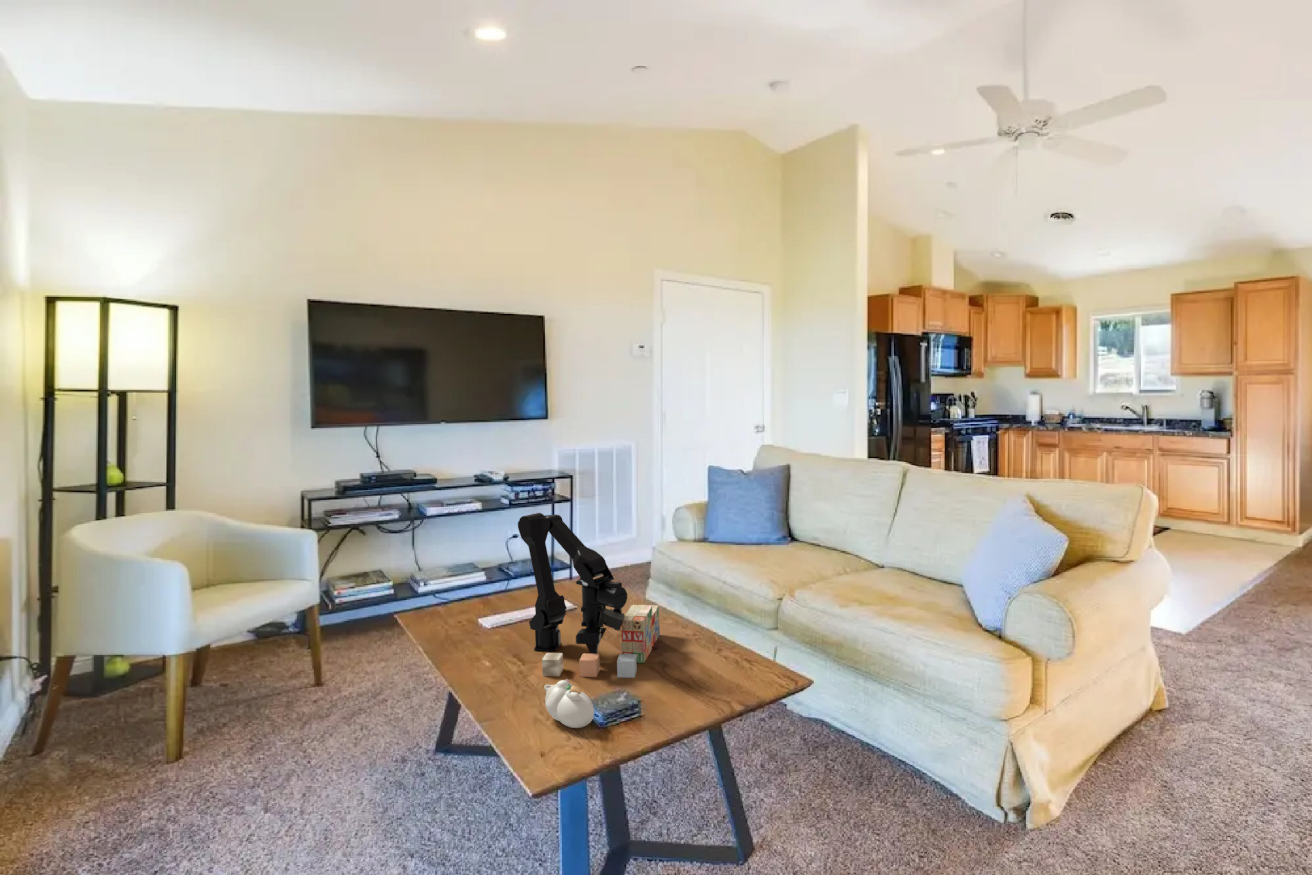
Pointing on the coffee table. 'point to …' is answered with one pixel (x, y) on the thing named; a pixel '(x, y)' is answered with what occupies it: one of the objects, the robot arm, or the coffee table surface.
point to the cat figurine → (568, 704)
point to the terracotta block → (589, 665)
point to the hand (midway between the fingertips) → (594, 656)
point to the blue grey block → (626, 665)
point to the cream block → (552, 664)
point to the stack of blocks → (640, 631)
